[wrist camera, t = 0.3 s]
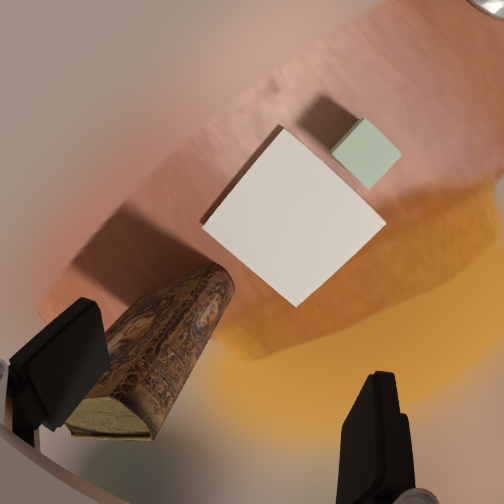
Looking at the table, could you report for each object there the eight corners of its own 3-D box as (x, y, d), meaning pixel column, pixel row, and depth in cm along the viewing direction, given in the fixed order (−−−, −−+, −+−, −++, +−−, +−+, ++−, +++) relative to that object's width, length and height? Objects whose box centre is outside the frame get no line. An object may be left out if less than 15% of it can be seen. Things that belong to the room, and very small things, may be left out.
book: (219, 258, 42) (118, 394, 20) (240, 292, 44) (163, 440, 21) (138, 298, 48) (38, 403, 26) (157, 325, 50) (70, 437, 27)
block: (358, 119, 32) (365, 117, 27) (390, 150, 32) (402, 154, 27) (330, 150, 34) (331, 154, 29) (361, 179, 35) (368, 189, 29)
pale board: (285, 128, 34) (284, 128, 33) (384, 220, 36) (386, 223, 35) (204, 225, 41) (202, 227, 40) (296, 303, 42) (295, 307, 41)
